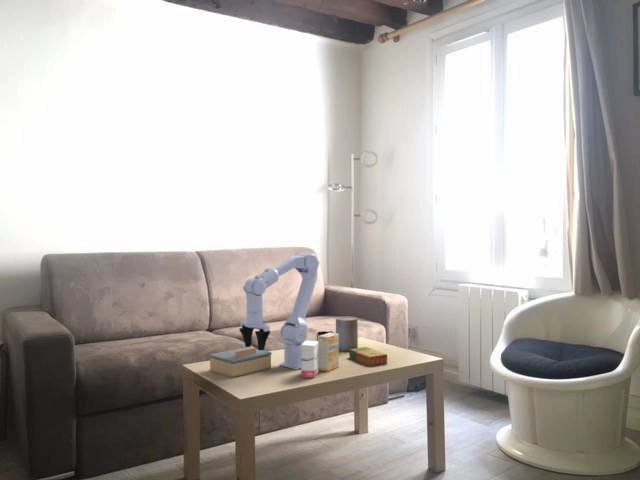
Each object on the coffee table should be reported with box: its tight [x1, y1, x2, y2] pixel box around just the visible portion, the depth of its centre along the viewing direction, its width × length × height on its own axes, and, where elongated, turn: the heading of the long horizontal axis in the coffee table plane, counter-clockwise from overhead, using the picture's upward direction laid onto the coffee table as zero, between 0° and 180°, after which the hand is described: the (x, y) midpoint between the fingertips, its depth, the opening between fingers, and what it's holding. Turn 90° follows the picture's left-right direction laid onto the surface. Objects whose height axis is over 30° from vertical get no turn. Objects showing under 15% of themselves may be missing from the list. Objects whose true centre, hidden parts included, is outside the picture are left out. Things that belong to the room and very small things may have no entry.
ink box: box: [300, 339, 319, 379], centre depth 204 cm, size 9×5×12 cm, turn 168°
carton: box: [348, 346, 388, 367], centre depth 225 cm, size 8×16×4 cm, turn 28°
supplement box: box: [318, 332, 340, 372], centre depth 212 cm, size 8×5×13 cm, turn 148°
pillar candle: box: [335, 315, 359, 352], centre depth 246 cm, size 10×10×15 cm
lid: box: [208, 346, 273, 363], centre depth 211 cm, size 14×18×3 cm
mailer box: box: [209, 355, 272, 379], centre depth 211 cm, size 14×18×5 cm
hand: (254, 348), depth 205 cm, fingers open, 7 cm apart
